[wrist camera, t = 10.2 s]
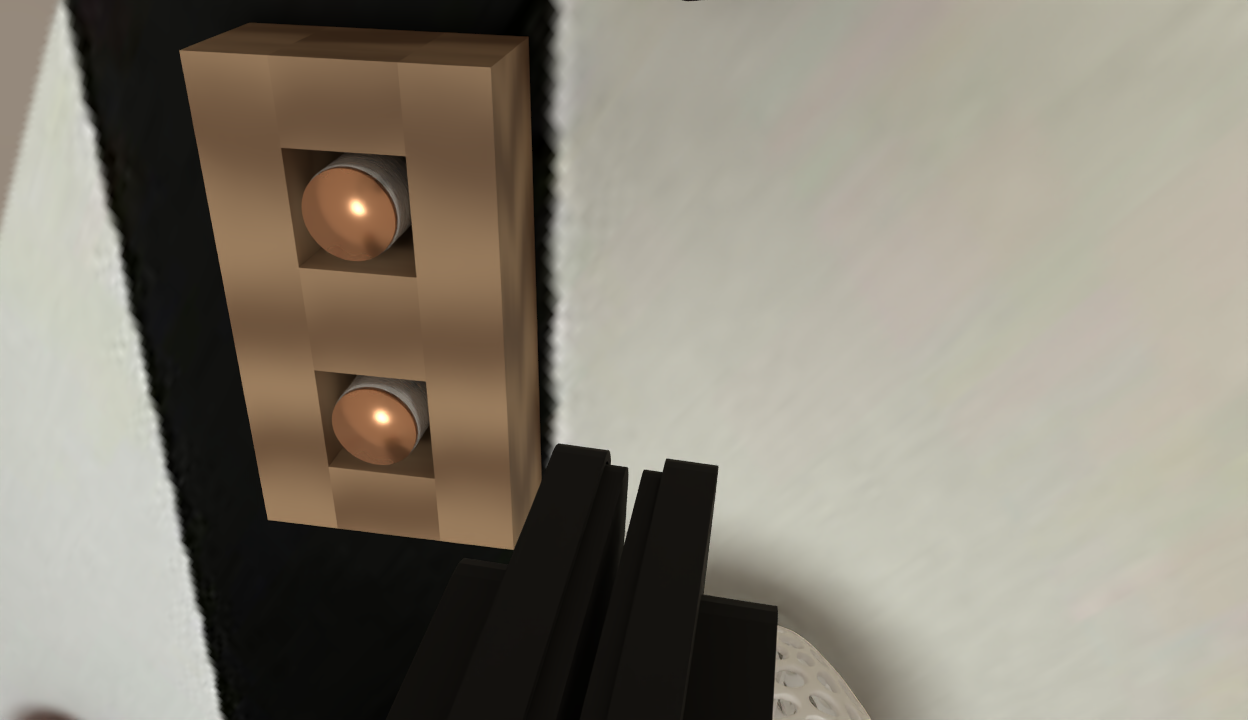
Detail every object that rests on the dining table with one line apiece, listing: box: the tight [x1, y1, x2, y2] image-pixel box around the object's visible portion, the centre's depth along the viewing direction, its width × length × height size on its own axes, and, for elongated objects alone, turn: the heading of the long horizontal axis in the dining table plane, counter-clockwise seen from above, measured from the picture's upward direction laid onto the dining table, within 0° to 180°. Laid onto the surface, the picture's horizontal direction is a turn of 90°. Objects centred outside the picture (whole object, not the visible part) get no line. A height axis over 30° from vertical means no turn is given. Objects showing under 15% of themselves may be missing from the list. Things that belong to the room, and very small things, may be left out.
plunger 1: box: [302, 152, 412, 261], centre depth 39 cm, size 4×4×5 cm
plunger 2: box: [332, 375, 430, 465], centre depth 43 cm, size 4×4×5 cm
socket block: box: [179, 23, 542, 550], centre depth 42 cm, size 20×11×5 cm, turn 179°
